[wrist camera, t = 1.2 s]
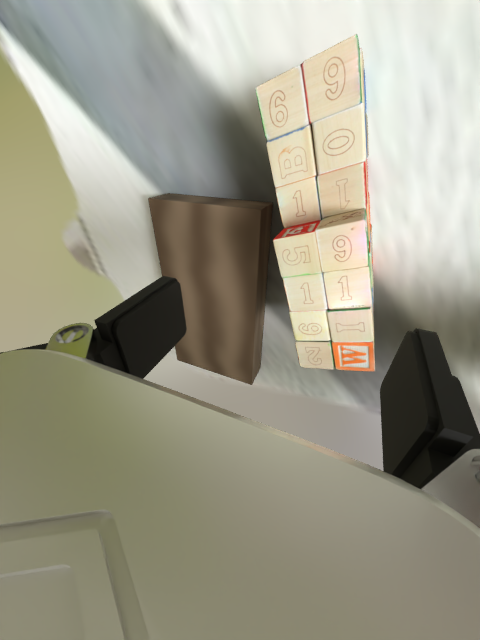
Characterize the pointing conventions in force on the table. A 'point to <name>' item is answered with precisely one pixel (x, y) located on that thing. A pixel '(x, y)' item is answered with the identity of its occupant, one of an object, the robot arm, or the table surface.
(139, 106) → the table surface
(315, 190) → the stack of blocks
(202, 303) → the plinth
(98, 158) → the table surface
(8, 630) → the robot arm
